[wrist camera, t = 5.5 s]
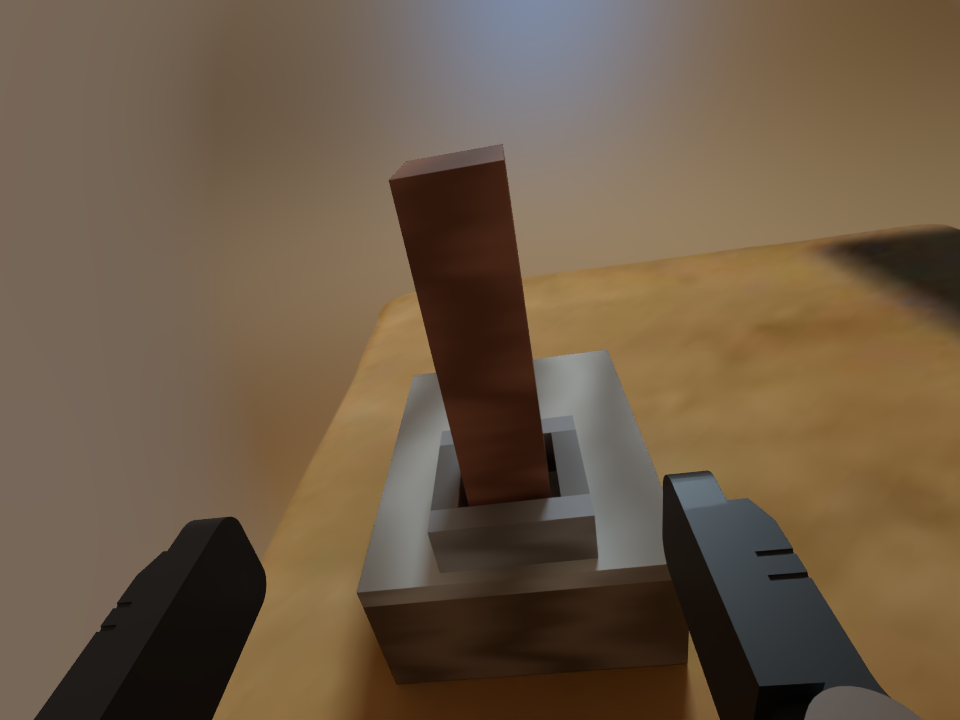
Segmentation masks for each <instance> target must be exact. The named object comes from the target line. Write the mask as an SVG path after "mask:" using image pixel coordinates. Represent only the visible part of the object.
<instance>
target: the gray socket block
mask: <svg viewBox="0 0 960 720" xmlns="http://www.w3.org/2000/svg"><path fill="white" fill-rule="evenodd" d="M533 365H534V372H535V379H536V387H537V394H538V401H539V408H540V415H541V422H542V430H543V437H544V444H545V451H546V458H547V466H548V473H549V480H550V488H551V495H552V498H545V499H536V500H527V501H517V502H508V503H499V504H489V505H480V506H471V507H469V504H468V500H467V496H466V492H465V488H464V484H463V480H462V476H461V472H460V468H459V464H458V460H457V455H456V451H455V447H454V443H453V439H452V435H451V431H450V427H449V423H448V419H447V415H446V411H445V407H444V403H443V399H442V395H441V390H440V386H439V382H438V378H437V374H436V373H430V374H423V375H416V376H413V380H412V384H411V387H410V391H409V395H408V399H407V403H406V407H405V410H404V414H403V418H402V422H401V426H400V429H399V433H398V437H397V441H396V445H395V448H394V452H393V456H392V460H391V464H390V468H389V471H388V475H387V479H386V483H385V487H384V490H383V494H382V498H381V502H380V506H379V509H378V513H377V517H376V521H375V525H374V529H373V532H372V536H371V540H370V544H369V548H368V551H367V555H366V559H365V563H364V567H363V570H362V574H361V578H360V582H359V586H358V589H357V595H358V597H359V599H360V601H361V604H362V606H363V608H364V611H365V613H366V615H367V617H368V620H369V622H370V624H371V627H372V629H373V631H374V633H375V636H376V638H377V640H378V643H379V645H380V647H381V650H382V652H383V654H384V656H385V659H386V661H387V663H388V666H389V668H390V670H391V672H392V675H393V677H394V679H395V682H396V684H406V683H420V682H433V681H447V680H461V679H475V678H489V677H503V676H517V675H531V674H545V673H558V672H572V671H586V670H600V669H614V668H628V667H642V666H656V665H669V664H683V663H688V638H689V628H688V626H687V623H686V620H685V617H684V614H683V611H682V608H681V605H680V602H679V600H678V597H677V594H676V591H675V588H674V585H673V582H672V579H671V576H670V574H669V570H668V567H667V563H666V559H665V554H664V548H663V539H662V518H663V489H662V486H661V484H660V481H659V479H658V476H657V474H656V471H655V468H654V466H653V463H652V461H651V458H650V456H649V453H648V451H647V448H646V446H645V443H644V441H643V438H642V436H641V433H640V431H639V428H638V425H637V423H636V420H635V418H634V415H633V413H632V410H631V408H630V405H629V403H628V400H627V398H626V395H625V393H624V390H623V388H622V385H621V382H620V380H619V377H618V375H617V372H616V370H615V367H614V365H613V362H612V360H611V357H610V355H609V352H608V350H600V351H593V352H586V353H578V354H571V355H563V356H556V357H549V358H541V359H534V360H533Z"/></svg>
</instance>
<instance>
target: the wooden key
mask: <svg viewBox="0 0 960 720" xmlns="http://www.w3.org/2000/svg"><path fill="white" fill-rule="evenodd" d="M389 183H390V187H391V191H392V195H393V199H394V204H395V207H396V211H397V215H398V220H399V224H400V228H401V232H402V236H403V239H404V244H405V248H406V252H407V256H408V260H409V264H410V269H411V273H412V276H413V281H414V285H415V289H416V293H417V297H418V301H419V305H420V309H421V313H422V317H423V321H424V325H425V329H426V334H427V338H428V342H429V346H430V350H431V354H432V358H433V362H434V366H435V370H436V374H437V378H438V382H439V386H440V390H441V395H442V399H443V403H444V407H445V411H446V415H447V419H448V423H449V427H450V431H451V435H452V439H453V443H454V447H455V451H456V455H457V460H458V464H459V468H460V472H461V476H462V480H463V484H464V488H465V492H466V496H467V500H468V504H469V507H471V506H480V505H489V504H499V503H508V502H517V501H527V500H536V499H545V498H552V495H551V488H550V480H549V473H548V466H547V458H546V451H545V444H544V437H543V430H542V422H541V415H540V408H539V401H538V394H537V387H536V379H535V372H534V365H533V358H532V351H531V343H530V336H529V329H528V322H527V315H526V308H525V300H524V293H523V286H522V279H521V272H520V265H519V257H518V250H517V243H516V236H515V229H514V221H513V214H512V208H511V200H510V193H509V186H508V178H507V172H506V164H505V157H504V150H503V144H501V145H495V146H489V147H484V148H479V149H473V150H467V151H461V152H456V153H450V154H445V155H439V156H434V157H428V158H423V159H417V160H412V161H406V162H405V163H404V164H403V165H402V166H401V168H400V169H399V170H398V171H397V172H396V173H395V174H394V175H393V176H392V177H391V178H390V179H389Z"/></svg>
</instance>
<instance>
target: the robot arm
mask: <svg viewBox="0 0 960 720" xmlns="http://www.w3.org/2000/svg"><path fill="white" fill-rule="evenodd" d="M662 539H663V548H664V554H665V559H666V563H667V567H668V570H669V574H670V576H671V579H672V582H673V585H674V588H675V591H676V594H677V597H678V600H679V602H680V605H681V608H682V611H683V614H684V617H685V620H686V623H687V626H688V628H689V631H690V634H691V637H692V640H693V643H694V646H695V649H696V652H697V654H698V657H699V660H700V663H701V666H702V669H703V672H704V675H705V678H706V680H707V683H708V686H709V689H710V692H711V695H712V698H713V701H714V704H715V706H716V709H717V712H718V715H719V718H720V720H922V719H921V718H920V717H918V716H917V715H916V714H915V713H914V712H912V711H911V710H909V709H908V708H906V707H905V706H903V705H902V704H900V703H899V702H897V701H895V700H893V699H892V698H891V697H889V696H888V695H887V693H886V692H885V691H884V690H883V689H882V688H881V687H880V685H879V684H878V683H877V681H876V680H875V679H874V677H873V676H872V674H871V673H870V671H869V670H868V668H867V667H866V665H865V663H864V662H863V660H862V658H861V657H860V655H859V654H858V652H857V650H856V649H855V647H854V646H853V644H852V642H851V641H850V639H849V638H848V636H847V634H846V633H845V631H844V630H843V628H842V626H841V625H840V623H839V622H838V620H837V618H836V617H835V615H834V614H833V612H832V610H831V609H830V607H829V606H828V604H827V602H826V601H825V599H824V598H823V596H822V594H821V593H820V591H819V590H818V588H817V586H816V585H815V583H814V581H813V580H812V578H809V577H808V573H807V570H806V569H805V567H804V565H803V564H802V562H801V561H800V559H799V557H798V556H797V554H794V552H793V548H792V546H791V545H790V543H789V541H788V540H787V538H786V537H785V535H784V533H783V532H782V530H781V529H780V527H779V525H778V524H777V522H776V521H775V520H774V519H773V518H772V517H771V516H769V515H768V514H767V513H766V512H764V511H763V510H762V509H761V508H759V507H758V506H757V505H756V504H754V503H753V502H752V501H751V500H749V499H748V498H746V499H735V500H727V499H726V497H725V495H724V494H723V492H722V490H721V488H720V486H719V484H718V483H717V481H716V479H715V477H714V475H713V474H712V473H711V472H710V471H699V472H689V473H679V474H669V475H665V476H664V479H663V518H662ZM265 593H266V575H265V571H264V569H263V566H262V564H261V563H260V561H259V559H258V557H257V555H256V553H255V551H254V549H253V547H252V545H251V543H250V541H249V540H248V537H247V536H246V534H245V532H244V530H243V528H242V526H241V524H240V523H239V521H238V520H237V519H235V518H234V517H222V518H212V519H203V520H194V521H191V522H189V523H188V524H187V525H185V527H184V528H183V529H182V530H181V532H180V533H179V535H178V536H177V538H176V539H175V541H174V543H173V544H172V545H171V547H170V548H169V550H168V551H164V552H162V553H161V554H160V555H159V556H158V557H157V558H156V559H154V560H153V561H152V562H151V563H150V564H149V565H148V566H147V567H146V568H145V569H143V570H142V571H141V572H140V573H139V574H138V575H137V576H136V577H135V579H134V580H133V581H132V583H131V584H130V586H129V587H128V588H127V590H126V591H125V593H124V594H123V595H122V597H121V598H120V600H119V601H118V602H117V608H114V609H112V611H111V612H110V614H109V615H108V616H107V618H106V619H105V621H104V622H103V623H102V625H101V630H100V632H96V633H95V635H94V636H93V637H92V639H91V640H90V642H89V643H88V644H87V646H86V647H85V649H84V650H83V652H82V653H81V654H80V656H79V657H78V658H77V660H76V662H75V663H74V664H73V666H72V667H71V669H70V670H69V671H68V673H67V674H66V676H65V677H64V678H63V680H62V681H61V682H60V684H59V685H58V687H57V688H56V689H55V691H54V692H53V694H52V695H51V696H50V698H49V699H48V701H47V702H46V703H45V705H44V706H43V708H42V709H41V710H40V712H39V713H38V715H37V716H36V717H35V719H34V720H212V718H213V716H214V714H215V712H216V709H217V707H218V705H219V702H220V700H221V698H222V696H223V693H224V691H225V689H226V687H227V684H228V682H229V680H230V677H231V675H232V673H233V671H234V668H235V666H236V664H237V661H238V659H239V657H240V655H241V652H242V650H243V648H244V645H245V643H246V641H247V639H248V636H249V634H250V632H251V629H252V627H253V625H254V623H255V620H256V618H257V616H258V613H259V611H260V609H261V607H262V604H263V602H264V598H265Z"/></svg>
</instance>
